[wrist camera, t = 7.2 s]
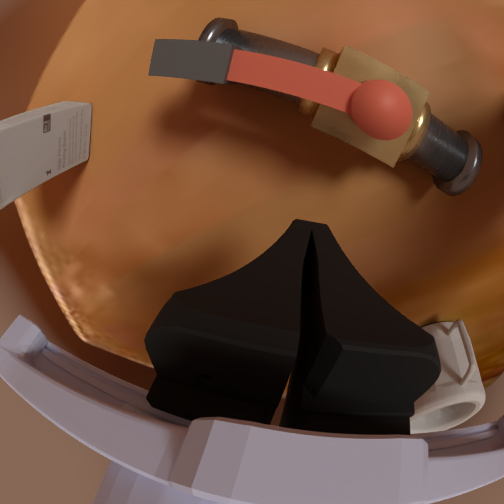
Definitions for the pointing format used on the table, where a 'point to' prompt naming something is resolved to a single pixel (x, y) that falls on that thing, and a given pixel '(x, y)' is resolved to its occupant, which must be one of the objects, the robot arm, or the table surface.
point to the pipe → (426, 155)
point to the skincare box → (42, 146)
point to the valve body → (344, 127)
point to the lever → (287, 82)
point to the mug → (450, 382)
